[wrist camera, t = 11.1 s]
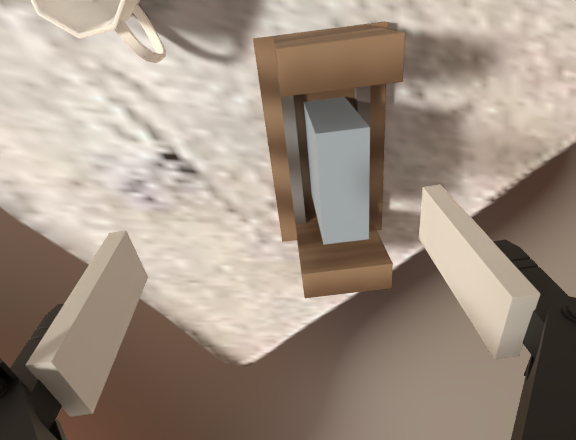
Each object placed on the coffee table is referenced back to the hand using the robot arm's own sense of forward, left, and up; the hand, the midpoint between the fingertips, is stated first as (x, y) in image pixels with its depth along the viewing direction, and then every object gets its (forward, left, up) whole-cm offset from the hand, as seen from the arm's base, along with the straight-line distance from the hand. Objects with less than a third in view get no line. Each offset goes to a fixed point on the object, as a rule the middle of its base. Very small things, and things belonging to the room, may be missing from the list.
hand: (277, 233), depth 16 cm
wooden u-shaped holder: (+5, +5, -23) cm, 24 cm away
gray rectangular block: (+5, +5, -22) cm, 23 cm away
